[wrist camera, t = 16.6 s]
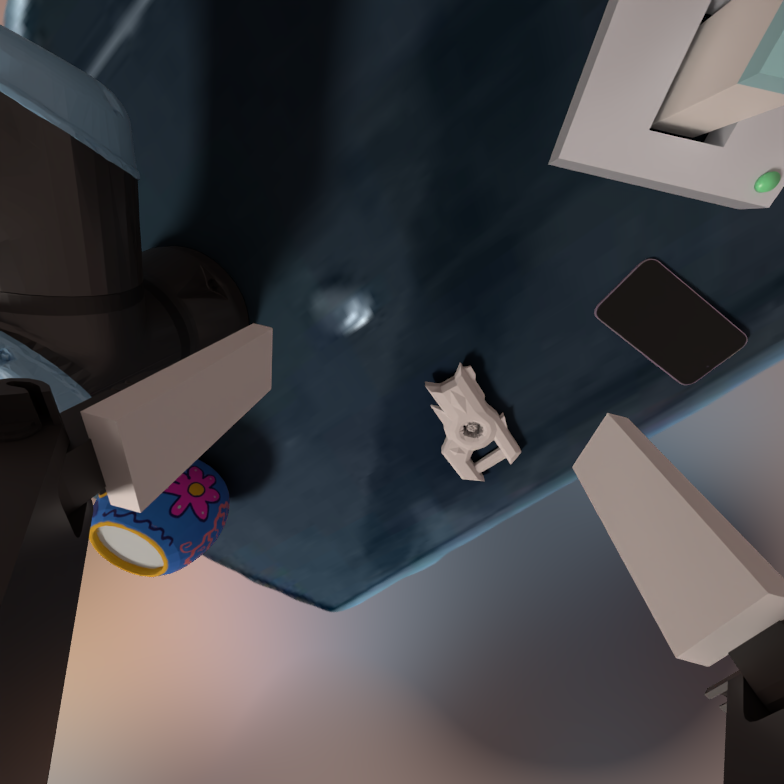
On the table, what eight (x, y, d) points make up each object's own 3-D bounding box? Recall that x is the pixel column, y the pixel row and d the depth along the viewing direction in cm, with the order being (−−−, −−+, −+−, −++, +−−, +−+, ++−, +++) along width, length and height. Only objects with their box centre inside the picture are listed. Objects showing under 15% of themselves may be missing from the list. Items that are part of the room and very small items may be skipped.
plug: (647, 127, 27) (759, 72, 18) (693, 30, 24) (856, -98, 15) (692, 137, 27) (830, 88, 18) (744, 41, 24) (941, -80, 15)
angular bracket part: (399, 404, 40) (470, 365, 36) (401, 390, 43) (467, 353, 39) (469, 493, 46) (535, 467, 43) (467, 476, 49) (528, 451, 46)
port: (548, 164, 29) (560, 157, 26) (634, -68, 23) (663, -113, 20) (739, 209, 29) (773, 207, 26) (884, -14, 22) (952, -52, 19)
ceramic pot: (159, 418, 51) (61, 483, 38) (259, 467, 53) (199, 545, 40) (147, 483, 59) (63, 556, 46) (234, 524, 61) (178, 605, 48)
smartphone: (651, 253, 31) (753, 339, 33) (644, 252, 32) (744, 336, 34) (590, 313, 35) (686, 389, 36) (586, 311, 36) (680, 385, 37)
